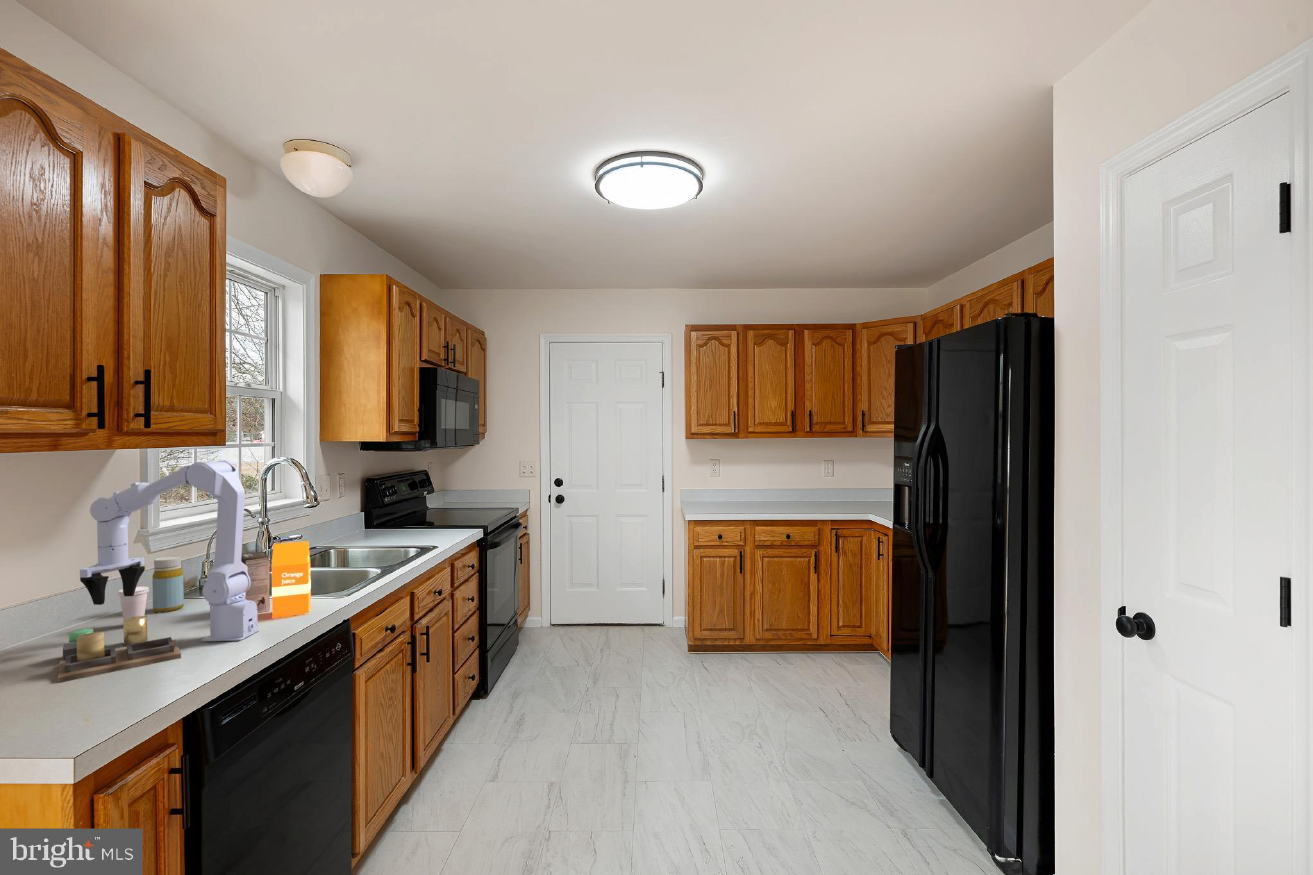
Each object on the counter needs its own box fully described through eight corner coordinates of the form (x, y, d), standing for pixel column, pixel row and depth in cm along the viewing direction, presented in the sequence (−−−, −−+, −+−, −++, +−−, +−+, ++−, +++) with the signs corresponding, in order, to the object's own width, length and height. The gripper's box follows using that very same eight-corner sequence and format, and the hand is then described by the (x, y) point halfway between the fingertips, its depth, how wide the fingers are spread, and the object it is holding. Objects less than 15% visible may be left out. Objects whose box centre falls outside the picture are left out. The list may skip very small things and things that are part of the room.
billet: (152, 639, 152) (151, 615, 152) (137, 645, 148) (137, 620, 148) (133, 640, 152) (133, 616, 152) (118, 646, 148) (118, 621, 148)
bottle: (163, 606, 182) (162, 556, 182) (189, 605, 183) (188, 555, 183) (146, 613, 175) (146, 561, 175) (173, 612, 176) (172, 560, 176)
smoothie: (113, 627, 163) (112, 574, 163) (142, 620, 169) (141, 569, 169) (125, 630, 160) (124, 576, 160) (154, 623, 166) (153, 571, 166)
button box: (99, 650, 145) (99, 637, 145) (99, 656, 141) (99, 643, 141) (63, 656, 141) (63, 643, 141) (62, 663, 137) (62, 650, 137)
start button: (93, 635, 144) (93, 627, 144) (93, 639, 141) (93, 631, 141) (69, 639, 141) (69, 631, 141) (69, 643, 138) (68, 635, 138)
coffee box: (237, 609, 178) (236, 553, 178) (262, 604, 183) (262, 550, 183) (244, 615, 172) (243, 558, 172) (270, 610, 177) (269, 554, 176)
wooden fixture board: (175, 643, 149) (174, 614, 149) (181, 657, 139) (180, 626, 139) (60, 665, 135) (59, 633, 135) (57, 682, 126) (57, 648, 126)
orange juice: (276, 611, 176) (274, 541, 176) (311, 607, 179) (310, 539, 179) (272, 618, 169) (270, 546, 169) (308, 614, 172) (307, 543, 172)
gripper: (126, 540, 160) (127, 592, 160) (67, 550, 145) (68, 608, 146) (151, 540, 159) (152, 592, 159) (94, 550, 145) (95, 608, 145)
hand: (114, 600), depth 152 cm, fingers open, 7 cm apart
